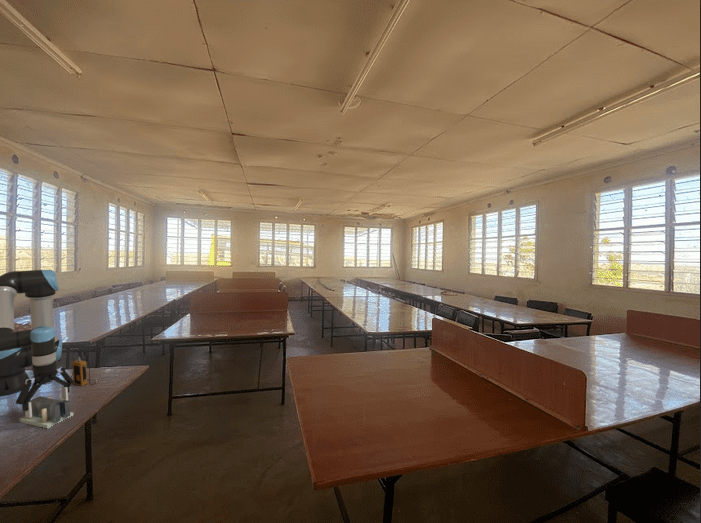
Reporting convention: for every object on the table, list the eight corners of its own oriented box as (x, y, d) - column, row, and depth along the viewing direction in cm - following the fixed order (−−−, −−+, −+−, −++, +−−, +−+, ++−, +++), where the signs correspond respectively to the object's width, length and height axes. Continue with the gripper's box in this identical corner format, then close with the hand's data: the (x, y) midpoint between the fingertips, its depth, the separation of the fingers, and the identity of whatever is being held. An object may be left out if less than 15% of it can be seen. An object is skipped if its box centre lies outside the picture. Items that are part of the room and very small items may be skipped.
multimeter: (106, 379, 177) (104, 345, 175) (86, 387, 167) (84, 352, 166) (89, 375, 182) (87, 342, 180) (69, 383, 172) (66, 348, 171)
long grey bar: (28, 416, 138) (26, 401, 137) (43, 409, 143) (42, 395, 143) (55, 422, 134) (54, 407, 133) (70, 415, 139) (69, 400, 139)
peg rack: (19, 422, 136) (18, 406, 136) (46, 409, 146) (45, 394, 145) (47, 428, 132) (46, 412, 132) (73, 415, 142) (72, 400, 141)
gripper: (70, 351, 150) (72, 393, 152) (1, 373, 126) (5, 423, 127) (81, 353, 148) (84, 395, 150) (13, 376, 124) (17, 426, 126)
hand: (47, 408), depth 139 cm, fingers open, 13 cm apart
